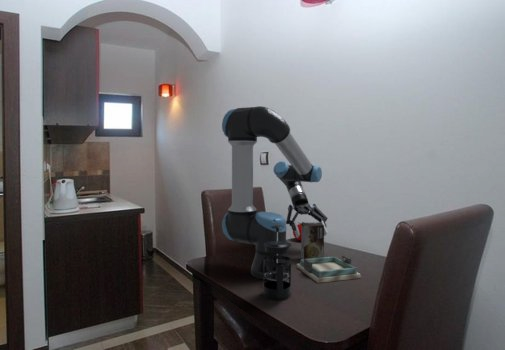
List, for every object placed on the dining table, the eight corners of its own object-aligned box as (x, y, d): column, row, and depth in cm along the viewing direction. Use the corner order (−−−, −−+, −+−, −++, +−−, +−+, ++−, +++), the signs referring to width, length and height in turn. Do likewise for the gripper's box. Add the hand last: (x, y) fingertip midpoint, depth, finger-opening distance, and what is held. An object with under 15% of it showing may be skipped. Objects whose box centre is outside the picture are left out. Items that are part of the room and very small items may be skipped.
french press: (260, 288, 121) (261, 222, 119) (287, 287, 122) (288, 222, 120) (265, 303, 109) (265, 230, 108) (294, 302, 110) (295, 229, 109)
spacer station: (317, 282, 126) (317, 268, 126) (296, 267, 144) (297, 254, 143) (360, 278, 132) (361, 263, 131) (335, 263, 149) (335, 251, 149)
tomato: (305, 244, 181) (305, 225, 181) (288, 240, 188) (289, 222, 188) (316, 240, 189) (316, 222, 188) (300, 237, 196) (300, 219, 196)
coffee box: (320, 257, 158) (321, 222, 157) (324, 261, 151) (324, 225, 150) (300, 257, 158) (301, 222, 157) (303, 262, 151) (303, 225, 150)
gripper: (318, 201, 176) (333, 237, 162) (272, 203, 168) (284, 241, 155) (324, 192, 170) (340, 228, 157) (276, 193, 163) (289, 232, 150)
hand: (312, 235), depth 156 cm, fingers open, 13 cm apart
